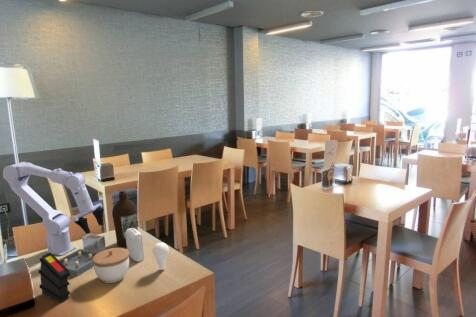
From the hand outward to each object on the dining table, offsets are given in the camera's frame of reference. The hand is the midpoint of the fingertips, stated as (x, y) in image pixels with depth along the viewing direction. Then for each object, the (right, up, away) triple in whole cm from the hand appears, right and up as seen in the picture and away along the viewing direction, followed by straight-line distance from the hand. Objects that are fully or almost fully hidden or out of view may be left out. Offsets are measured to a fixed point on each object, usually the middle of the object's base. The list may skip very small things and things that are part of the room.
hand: (94, 229), depth 145 cm
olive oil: (+12, -8, +8) cm, 17 cm away
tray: (-2, -12, -11) cm, 16 cm away
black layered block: (+1, -16, -32) cm, 36 cm away
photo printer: (+20, -11, -6) cm, 23 cm away
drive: (-1, -10, +3) cm, 10 cm away
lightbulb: (+34, -12, -17) cm, 40 cm away
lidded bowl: (+16, -14, -22) cm, 30 cm away
